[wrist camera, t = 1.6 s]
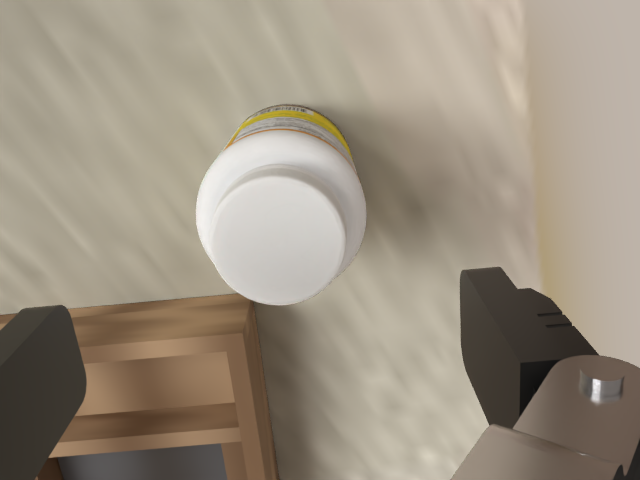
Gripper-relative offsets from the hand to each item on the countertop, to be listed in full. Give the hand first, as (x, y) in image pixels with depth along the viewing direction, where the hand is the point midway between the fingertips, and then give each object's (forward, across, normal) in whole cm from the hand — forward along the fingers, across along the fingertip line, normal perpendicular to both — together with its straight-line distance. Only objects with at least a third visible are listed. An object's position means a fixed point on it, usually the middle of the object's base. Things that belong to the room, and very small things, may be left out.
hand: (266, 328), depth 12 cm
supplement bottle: (+15, 0, 0) cm, 15 cm away
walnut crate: (+15, +9, +14) cm, 23 cm away
